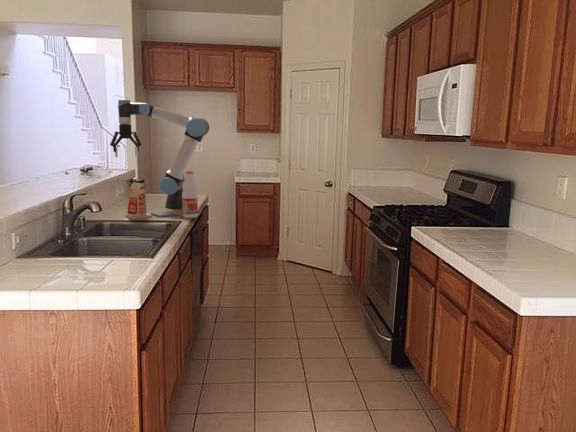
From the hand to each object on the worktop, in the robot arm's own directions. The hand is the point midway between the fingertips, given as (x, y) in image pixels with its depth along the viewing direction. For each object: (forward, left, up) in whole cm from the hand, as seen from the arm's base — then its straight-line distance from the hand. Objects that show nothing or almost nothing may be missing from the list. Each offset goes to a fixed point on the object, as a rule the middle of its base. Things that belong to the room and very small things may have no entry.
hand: (126, 156), depth 319 cm
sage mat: (+7, +31, -35) cm, 47 cm away
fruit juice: (-18, +50, -35) cm, 64 cm away
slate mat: (-8, +35, -35) cm, 50 cm away
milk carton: (+7, +31, -34) cm, 46 cm away
